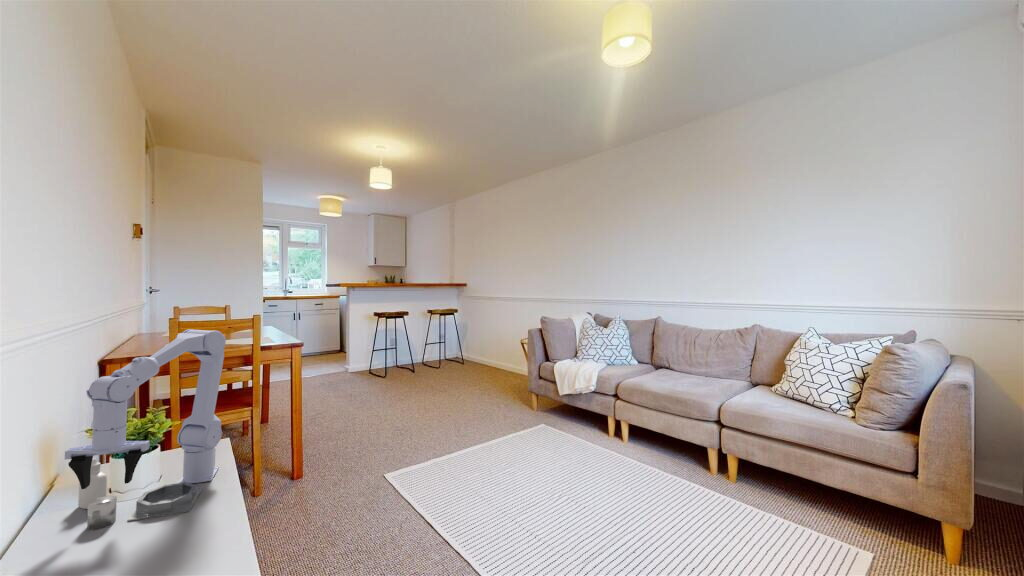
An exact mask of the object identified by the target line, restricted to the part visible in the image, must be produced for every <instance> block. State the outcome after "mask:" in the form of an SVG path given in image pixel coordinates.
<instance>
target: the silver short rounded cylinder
mask: <svg viewBox="0 0 1024 576" xmlns="http://www.w3.org/2000/svg"><path fill="white" fill-rule="evenodd" d="M117 500H118V498H117V496H115V495H106V496H105V497H101V498H98V499H95V500H93V501H91V502H89V503H88V509H87V519H86V523H87V524H86V529H87V530H89V531H96V530H102V529H104V528H107V527H109V526H111V525H113V524H115V522H116V521H117V520H116V519H117Z"/></svg>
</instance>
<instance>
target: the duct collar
mask: <svg viewBox="0 0 1024 576" xmlns="http://www.w3.org/2000/svg"><path fill="white" fill-rule="evenodd" d="M202 491H203V488H199V489H198V485H196V484H195V483H192V484H190V483H187V482H184V483H178V482H177V483H170V484H164V485H161V486H159V487H156V488H154V489H151V490H148V491H145V492H143V493H142V495H141V496H140V497H139V498H138V499H137V501H135V502H136V506H135V510H134V512H133V513H132V514H131V515H130V516H129V517H128V519H127V520H126V521H127V522H128V523H129V522H134V521H140V520H146V519H147V520H148V519H153V518H159V517H165V516H172V515H178V514H179V515H180V514H185V513H189V512H191V510H192V508H193V506H194V504H195V503H196V501H197V499H198V498H199V496H200V495H201V493H202Z"/></svg>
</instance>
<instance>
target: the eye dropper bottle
mask: <svg viewBox="0 0 1024 576" xmlns="http://www.w3.org/2000/svg"><path fill="white" fill-rule="evenodd" d="M101 467H102V466H101V462H98V461H97V458H96V457H95V458H94V457H93V458H92V463H91V471H90V485H89V486H88V487H87V488H86V489H81V486H80V482H79V481H78V482H79V484H78V501H77V502H78V503H77V504H78V505H77V506H78V508H80V509H83V510H88V503H89V502H91V501H93V500H95V499H98V498H101V497H105V496H107V483H108V480H107V479H108V477H107V474H106V473H104V472H103V471H101Z"/></svg>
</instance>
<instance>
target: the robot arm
mask: <svg viewBox="0 0 1024 576" xmlns="http://www.w3.org/2000/svg"><path fill="white" fill-rule="evenodd" d="M226 343H227V337H226V336H225V335H224V334H223V333H222V332H221V331H219V330H215V329H214V330H207V329H206V330H205V329H203V330H202V329H193V328H189V329H185V330H184V331H182V332H180V333H178V334H177V335H176V337H175V339H173V340H172V341H170V342H169V343H167V345H166V344H165V346H163V347H162V348H160V349H159V350H157V351H156V352H155V353H153V354H152V355H149V356H140V357H139V356H138V357H134V358H133V359H132V360H131V362H130V363H128V364H126V365H125V366H123V367H121V368H120V369H116V370H114V371H113V372H112V373H111V374H110V375H106V376H105V375H104V376H100V377H99V378H96V379H95V380H94V381H93V382H92V383H91V384H90V385H89V388H88V389H87V390H86V391H85V392H86V396H87V398H88V399H90V400H91V407H93V413H92V414H93V416H92V417H93V418H92V435H91V437H92V438H91V439H92V440H91V445H90V444H89V445H84V446H78V447H68V449H66V450H65V451H64V460H70V461H69V462H68V467H69V468H70V469H71V470H72V471H73V472H74V474H75V476H76V478H77V480H78V482H80V486H81V489H86V488H87V487H88V486H89V485H90V471H91V463H92V459H94V456H103V455H111V454H122V453H126V454H125V455H124V456H123V460H124V461H123V462H124V470H125V471H124V484H129V483H131V481H132V480H133V476H134V472H135V470H136V468H137V466H138V464H139V461H140V459H141V458H142V456H143V454H144V453H145V452H147V451H148V450H150V442H151V441H150V440H127V420H128V419H127V418H128V417H127V415H128V399H130V398H132V396H133V395H134V394H135V391H136V390H137V389H138V388H139V387H140V386H141V385H143V384H144V383H145V382H148V381H149V380H150V379H152V378H153V377H155V376H156V375H157V374H158V373H160V367H162V366H164V365H166V364H167V363H169V362H171V361H173V360H174V359H176V358H178V357H180V356H181V355H183V354H184V353H186V352H188V353H190V354H192V355H194V356H195V357H196V358H198V360H199V362H200V367H199V373H198V378H197V382H196V383H197V384H196V388H195V394H194V399H193V405H192V409H191V410H192V411H191V415H189V416H188V417H187V418H185V419H184V420H183V421H182V424H181V428H180V429H179V431H178V434H177V437H176V441H177V444H178V445H179V446H181V450H183V465H182V466H183V469H182V477H181V478H180V480H179V481H178V482H177V483H184V482H187V483H190V484H198V483H206V482H211V481H212V480H213V478H214V476H215V475H216V473H217V471H218V470H219V468H220V467H219V466H216V447H217V445H218V444H219V443H220V441H221V439H222V436H223V431H222V430H223V429H222V420H221V419H220V418H219V417H218V416H217V415H216V414H215V411H216V406H217V402H218V401H217V400H218V395H219V388H220V384H221V383H220V382H221V376H222V371H223V365H224V360H225V346H226Z"/></svg>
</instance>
